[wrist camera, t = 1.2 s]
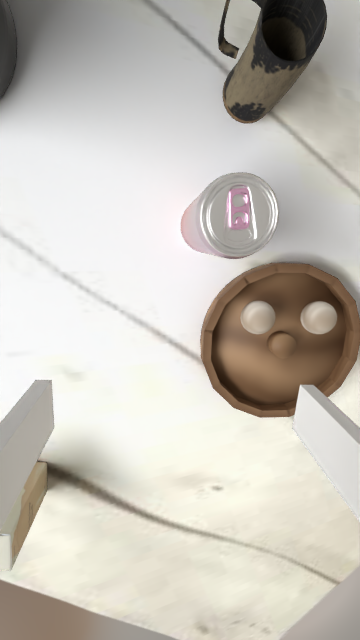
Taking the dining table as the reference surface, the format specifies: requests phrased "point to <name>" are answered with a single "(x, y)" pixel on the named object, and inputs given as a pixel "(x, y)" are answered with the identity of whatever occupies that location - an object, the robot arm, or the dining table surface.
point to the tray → (250, 351)
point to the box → (22, 516)
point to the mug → (271, 55)
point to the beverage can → (231, 217)
